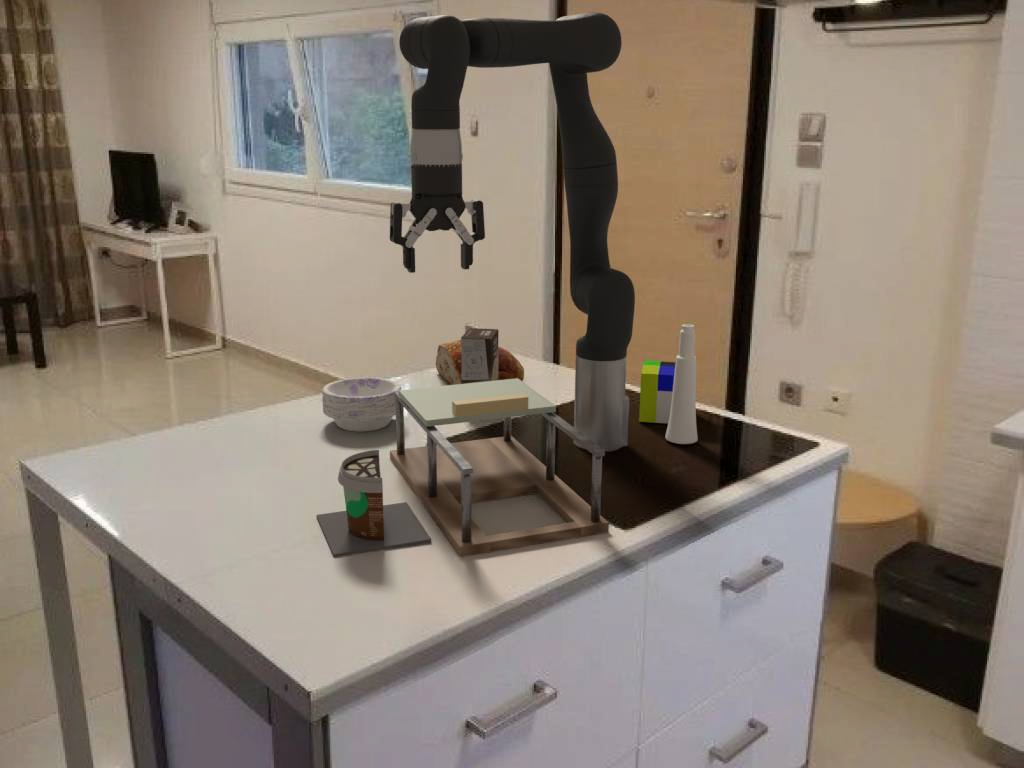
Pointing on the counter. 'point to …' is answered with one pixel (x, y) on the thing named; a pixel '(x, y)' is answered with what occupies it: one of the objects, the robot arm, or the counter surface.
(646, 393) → the puzzle toy
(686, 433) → the cosmetic bottle
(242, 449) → the counter surface
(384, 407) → the paper bowls
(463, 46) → the robot arm
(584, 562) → the counter surface
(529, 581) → the counter surface
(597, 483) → the cover rails
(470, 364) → the coffee box
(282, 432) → the counter surface
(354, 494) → the food container
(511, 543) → the wooden base board
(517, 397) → the sliding cover
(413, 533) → the charcoal mat
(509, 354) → the bread
